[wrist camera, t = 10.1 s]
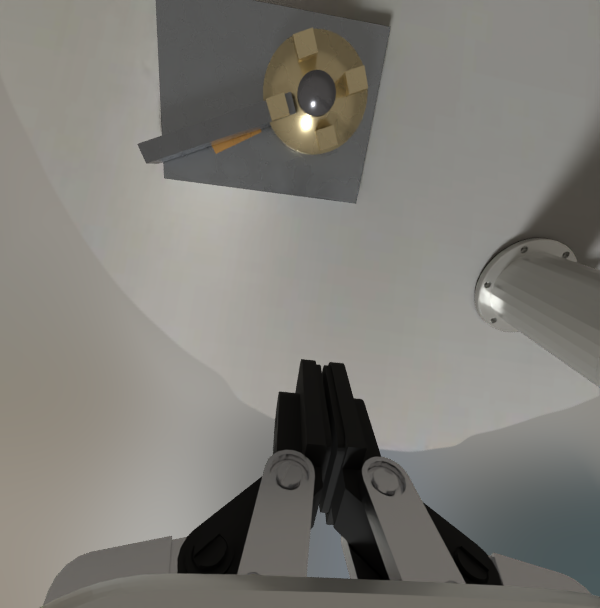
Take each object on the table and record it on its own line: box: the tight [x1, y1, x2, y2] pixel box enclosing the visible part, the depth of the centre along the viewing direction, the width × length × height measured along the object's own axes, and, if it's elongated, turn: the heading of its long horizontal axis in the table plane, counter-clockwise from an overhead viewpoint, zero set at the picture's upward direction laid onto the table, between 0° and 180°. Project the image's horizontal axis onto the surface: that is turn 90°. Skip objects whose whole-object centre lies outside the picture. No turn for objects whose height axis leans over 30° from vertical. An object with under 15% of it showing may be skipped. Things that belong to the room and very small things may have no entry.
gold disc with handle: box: [138, 27, 368, 164], centre depth 28 cm, size 9×20×4 cm, turn 106°
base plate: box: [156, 0, 390, 203], centre depth 30 cm, size 20×15×2 cm
